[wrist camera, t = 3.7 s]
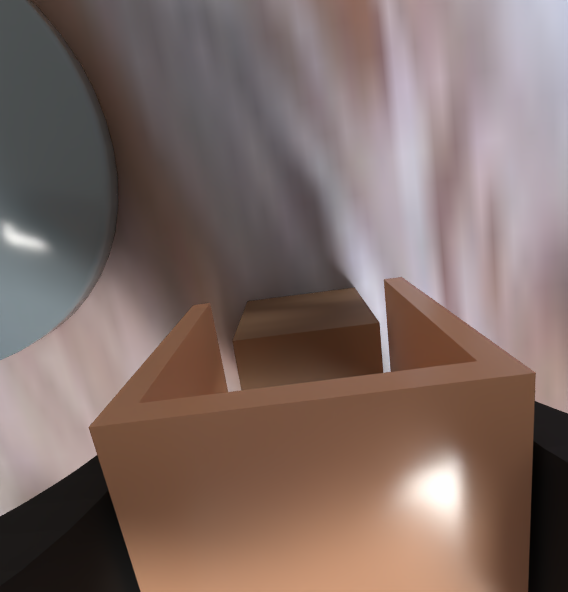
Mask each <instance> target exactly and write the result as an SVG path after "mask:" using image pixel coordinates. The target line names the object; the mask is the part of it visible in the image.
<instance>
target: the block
mask: <svg viewBox="0 0 568 592" xmlns="http://www.w3.org/2000/svg"><path fill="white" fill-rule="evenodd" d="M233 347H234V352H235V358H236V363H237V368H238V374H239V379H240V385H241V390H249V389H258V388H266V387H274V386H282V385H290V384H298V383H306V382H314V381H322V380H330V379H338V378H346V377H354V376H362V375H370V374H378V373H383V364H382V351H381V337H380V324H379V321H378V320H377V319H376V317H375V316H374V314H373V313H372V311H371V310H370V309H369V307H368V306H367V304H366V303H365V302H364V300H363V299H362V297H361V296H360V295H359V293H358V292H357V290H356V289H355V288H347V289H339V290H331V291H324V292H316V293H308V294H300V295H292V296H285V297H277V298H269V299H261V300H253V301H247V304H246V307H245V309H244V312H243V314H242V317H241V320H240V322H239V325H238V328H237V330H236V333H235V335H234V338H233Z"/></svg>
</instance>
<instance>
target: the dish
mask: <svg viewBox="0 0 568 592" xmlns="http://www.w3.org/2000/svg"><path fill="white" fill-rule="evenodd" d="M117 210H118V177H117V170H116V163H115V156H114V149H113V145H112V141H111V138H110V134H109V130H108V126H107V123H106V119H105V117H104V114H103V112H102V109H101V106H100V104H99V101H98V99H97V96H96V94H95V91H94V89H93V87H92V85H91V83H90V81H89V80H88V78H87V76H86V74H85V72H84V70H83V68H82V66H81V64H80V62H79V61H78V59H77V58H76V56H75V55H74V53H73V52H72V50H71V49H70V47H69V46H68V45H67V43H66V42H65V40H64V39H63V37H62V36H61V34H60V33H59V32H58V30H57V29H56V28H55V27H54V26H53V25H52V23H51V22H50V21H49V20H48V19H47V18H46V16H45V15H44V14H43V13H42V12H41V10H40V9H39V8H38V7H37V6H36V5H35V4H34V3H33V2H32V1H31V0H0V360H2V359H4V358H6V357H8V356H10V355H13V354H15V353H17V352H19V351H21V350H23V349H24V348H26V347H28V346H29V345H31V344H33V343H34V342H36V341H38V340H40V339H41V338H43V337H44V336H46V335H47V334H49V333H50V332H52V331H54V330H55V329H57V328H58V327H59V326H60V325H62V324H63V323H64V322H65V321H66V320H67V319H68V318H69V317H71V316H72V315H73V314H74V313H75V312H76V311H77V309H78V308H79V307H80V306H81V305H82V303H83V302H84V301H85V300H86V298H87V297H88V296H89V294H90V293H91V291H92V289H93V288H94V286H95V284H96V283H97V281H98V279H99V278H100V276H101V273H102V271H103V268H104V266H105V264H106V261H107V259H108V256H109V253H110V249H111V245H112V242H113V238H114V234H115V228H116V219H117Z"/></svg>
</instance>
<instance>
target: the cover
mask: <svg viewBox="0 0 568 592" xmlns="http://www.w3.org/2000/svg"><path fill="white" fill-rule="evenodd" d="M384 288H385V301H386V314H387V328H388V341H389V354H390V368H391V372H386V373H378V374H370V375H362V376H354V377H346V378H338V379H330V380H322V381H314V382H306V383H298V384H290V385H282V386H274V387H266V388H258V389H249V390H241V391H233V392H228V389H227V384H226V379H225V374H224V369H223V364H222V359H221V354H220V349H219V344H218V339H217V335H216V330H215V325H214V320H213V315H212V310H211V305H210V303H206V304H198V305H193V306H192V307H191V308H190V309H189V311H188V312H187V313H186V314H185V315H184V316H183V318H182V319H181V320H180V321H179V322H178V323H177V325H176V326H175V327H174V328H173V329H172V331H171V332H170V333H169V334H168V335H167V336H166V338H165V339H164V340H163V341H162V342H161V343H160V345H159V346H158V347H157V348H156V349H155V350H154V352H153V353H152V354H151V355H150V356H149V357H148V359H147V360H146V361H145V362H144V363H143V364H142V366H141V367H140V368H139V369H138V370H137V371H136V373H135V374H134V375H133V376H132V377H131V378H130V380H129V381H128V382H127V383H126V384H125V385H124V387H123V388H122V389H121V390H120V391H119V392H118V394H117V395H116V396H115V397H114V398H113V399H112V401H111V402H110V403H109V404H108V405H107V406H106V408H105V409H104V410H103V411H102V412H101V413H100V415H99V416H98V417H97V418H96V419H95V420H94V422H93V423H92V424H91V425H90V426H89V430H90V433H91V436H92V439H93V443H94V446H95V449H96V452H97V455H98V458H99V462H100V465H101V468H102V471H103V474H104V477H105V480H106V484H107V487H108V490H109V493H110V496H111V499H112V503H113V506H114V509H115V512H116V515H117V518H118V522H119V525H120V528H121V531H122V534H123V537H124V541H125V544H126V547H127V550H128V553H129V556H130V560H131V563H132V566H133V569H134V572H135V575H136V579H137V582H138V585H139V588H140V591H141V592H528V577H529V548H530V519H531V490H532V461H533V433H534V404H535V375H536V373H535V372H534V371H532V370H531V369H530V368H528V367H527V366H525V365H524V364H523V363H521V362H520V361H518V360H517V359H516V358H514V357H513V356H511V355H510V354H509V353H507V352H506V351H504V350H503V349H502V348H500V347H499V346H497V345H496V344H495V343H493V342H492V341H490V340H489V339H488V338H486V337H485V336H483V335H482V334H481V333H479V332H478V331H476V330H475V329H474V328H472V327H471V326H469V325H468V324H467V323H465V322H464V321H462V320H461V319H460V318H458V317H457V316H455V315H454V314H453V313H451V312H450V311H449V310H447V309H446V308H444V307H443V306H442V305H440V304H439V303H437V302H436V301H435V300H433V299H432V298H430V297H429V296H428V295H426V294H425V293H423V292H422V291H421V290H419V289H418V288H416V287H415V286H414V285H412V284H411V283H409V282H408V281H407V280H405V279H404V278H402V277H398V278H390V279H384Z"/></svg>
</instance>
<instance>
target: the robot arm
mask: <svg viewBox="0 0 568 592" xmlns="http://www.w3.org/2000/svg"><path fill="white" fill-rule="evenodd" d="M0 592H141V591H140V588H139V585H138V582H137V579H136V575H135V572H134V569H133V566H132V563H131V560H130V556H129V553H128V550H127V547H126V544H125V541H124V537H123V534H122V531H121V528H120V525H119V522H118V518H117V515H116V512H115V509H114V506H113V503H112V499H111V496H110V493H109V490H108V487H107V484H106V480H105V477H104V474H103V471H102V468H101V465H100V462H99V458H98V455H97V456H95V457H94V458H93V459H91V460H90V461H88V462H87V463H86V464H84V465H83V466H81V467H80V468H79V469H77V470H76V471H74V472H73V473H71V474H70V475H68V476H67V477H65V478H64V479H62V480H61V481H59V482H58V483H56V484H55V485H53V486H51V487H50V488H48V489H47V490H45V491H43V492H42V493H40V494H38V495H37V496H35V497H34V498H32V499H30V500H29V501H27V502H25V503H24V504H22V505H20V506H18V507H17V508H15V509H13V510H11V511H9V512H7V513H6V514H4V515H2V516H0ZM528 592H568V414H567V413H565V412H562V411H559V410H557V409H554V408H551V407H549V406H546V405H544V404H541V403H538V402H536V401H535V404H534V433H533V461H532V490H531V519H530V548H529V577H528Z"/></svg>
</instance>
